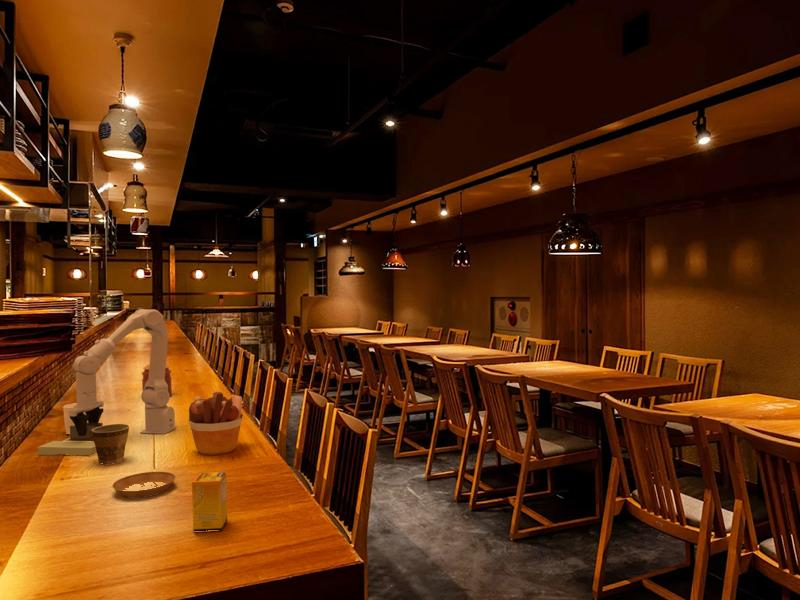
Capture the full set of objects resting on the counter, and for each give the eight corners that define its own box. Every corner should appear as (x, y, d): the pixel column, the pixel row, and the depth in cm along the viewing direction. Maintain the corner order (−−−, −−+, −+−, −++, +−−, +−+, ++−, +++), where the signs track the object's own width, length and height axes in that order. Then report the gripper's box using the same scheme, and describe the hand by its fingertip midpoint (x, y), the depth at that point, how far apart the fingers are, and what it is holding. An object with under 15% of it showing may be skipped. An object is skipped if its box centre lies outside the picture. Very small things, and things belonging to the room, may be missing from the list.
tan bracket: (117, 444, 187) (117, 436, 187) (91, 456, 174) (91, 447, 174) (67, 443, 189) (66, 435, 189) (37, 454, 176) (37, 446, 176)
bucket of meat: (188, 445, 184) (186, 385, 183) (240, 439, 190) (239, 380, 190) (191, 463, 166) (189, 395, 165) (248, 456, 172) (247, 390, 171)
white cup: (78, 436, 198) (77, 407, 198) (58, 435, 200) (57, 407, 199) (94, 430, 206) (93, 403, 206) (75, 429, 207) (74, 402, 207)
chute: (102, 438, 188) (102, 422, 188) (93, 443, 183) (92, 426, 183) (80, 438, 189) (80, 422, 189) (70, 442, 184) (69, 426, 184)
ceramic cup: (137, 457, 172) (136, 425, 172) (110, 468, 162) (109, 433, 162) (104, 454, 176) (103, 422, 176) (76, 463, 167) (75, 430, 166)
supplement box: (200, 521, 124) (198, 472, 124) (227, 520, 125) (226, 471, 125) (192, 533, 118) (191, 481, 118) (221, 532, 119) (220, 480, 119)
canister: (165, 399, 260) (164, 361, 260) (137, 400, 261) (136, 361, 260) (176, 394, 273) (175, 357, 273) (150, 394, 274) (149, 358, 273)
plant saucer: (131, 480, 152) (130, 471, 152) (185, 480, 152) (184, 470, 152) (100, 501, 138) (100, 491, 137) (160, 501, 137) (159, 491, 137)
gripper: (89, 388, 193) (90, 427, 194) (59, 396, 179) (60, 438, 179) (108, 388, 193) (109, 427, 193) (80, 396, 178) (81, 439, 178)
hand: (87, 433), depth 186 cm, fingers closed on chute, 5 cm apart
